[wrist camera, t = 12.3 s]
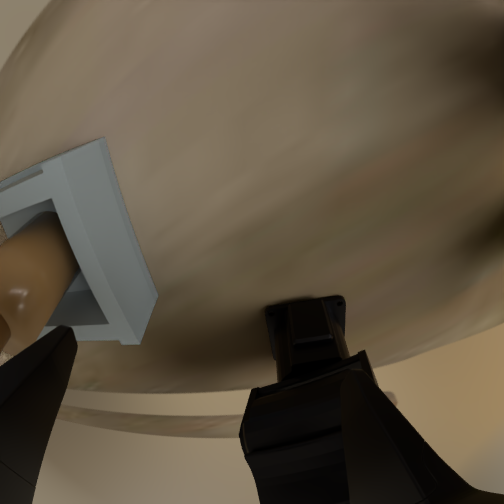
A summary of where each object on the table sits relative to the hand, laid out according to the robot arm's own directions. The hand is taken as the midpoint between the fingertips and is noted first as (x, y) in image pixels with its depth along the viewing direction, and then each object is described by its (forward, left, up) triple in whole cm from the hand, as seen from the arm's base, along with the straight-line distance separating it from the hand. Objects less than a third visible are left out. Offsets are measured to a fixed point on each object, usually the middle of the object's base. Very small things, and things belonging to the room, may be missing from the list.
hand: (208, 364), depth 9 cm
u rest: (0, +14, -13) cm, 19 cm away
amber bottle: (0, +14, -12) cm, 19 cm away
